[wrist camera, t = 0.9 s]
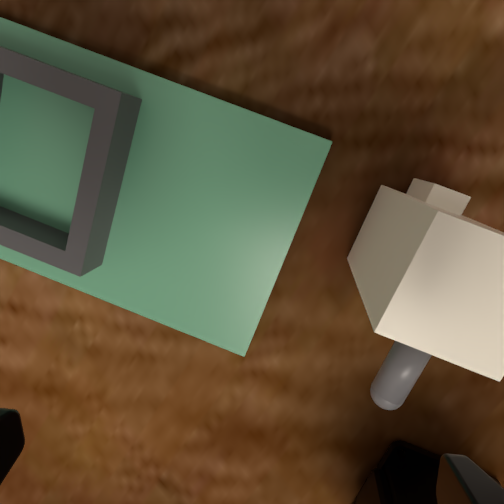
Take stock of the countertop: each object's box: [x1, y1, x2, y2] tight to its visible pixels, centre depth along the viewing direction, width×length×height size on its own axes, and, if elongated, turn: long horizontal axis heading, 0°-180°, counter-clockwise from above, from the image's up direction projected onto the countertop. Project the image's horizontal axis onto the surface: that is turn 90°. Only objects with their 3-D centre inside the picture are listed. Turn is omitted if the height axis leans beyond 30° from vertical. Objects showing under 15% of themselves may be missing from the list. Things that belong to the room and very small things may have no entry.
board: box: [0, 17, 332, 357], centre depth 18 cm, size 18×12×3 cm, turn 70°
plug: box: [347, 178, 504, 410], centre depth 15 cm, size 4×8×8 cm, turn 160°
